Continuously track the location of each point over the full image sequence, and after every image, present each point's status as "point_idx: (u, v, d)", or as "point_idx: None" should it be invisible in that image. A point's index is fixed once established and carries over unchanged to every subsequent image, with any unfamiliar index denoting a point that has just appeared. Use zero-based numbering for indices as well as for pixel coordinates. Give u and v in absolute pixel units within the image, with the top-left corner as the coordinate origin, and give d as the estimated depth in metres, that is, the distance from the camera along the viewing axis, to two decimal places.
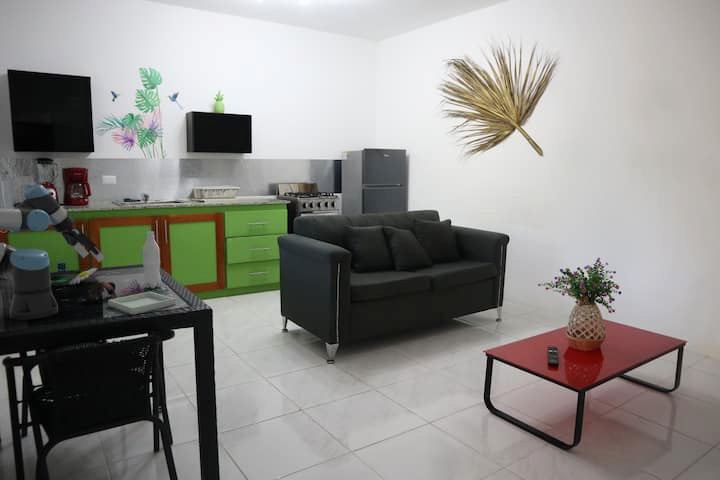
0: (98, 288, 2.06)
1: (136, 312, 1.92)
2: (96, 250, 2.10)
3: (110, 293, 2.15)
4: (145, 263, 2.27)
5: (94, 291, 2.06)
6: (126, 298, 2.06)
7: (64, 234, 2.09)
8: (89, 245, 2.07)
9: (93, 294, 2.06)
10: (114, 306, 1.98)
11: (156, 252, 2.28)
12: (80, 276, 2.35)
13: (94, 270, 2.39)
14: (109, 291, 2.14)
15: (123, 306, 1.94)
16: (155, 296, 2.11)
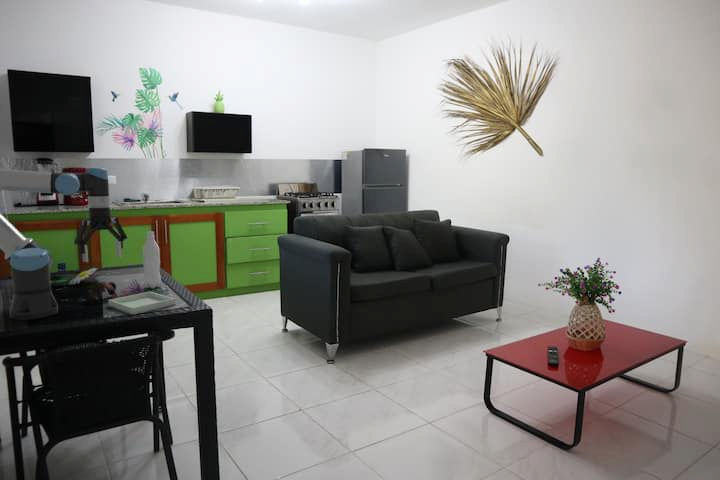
0: (99, 288, 2.06)
1: (136, 312, 1.92)
2: (81, 249, 2.02)
3: (111, 293, 2.14)
4: (145, 263, 2.27)
5: (95, 291, 2.06)
6: (126, 298, 2.06)
7: None
8: (76, 239, 2.01)
9: (94, 294, 2.06)
10: (114, 306, 1.98)
11: (156, 252, 2.28)
12: (80, 276, 2.35)
13: (94, 270, 2.39)
14: (110, 291, 2.14)
15: (123, 306, 1.94)
16: (155, 296, 2.11)
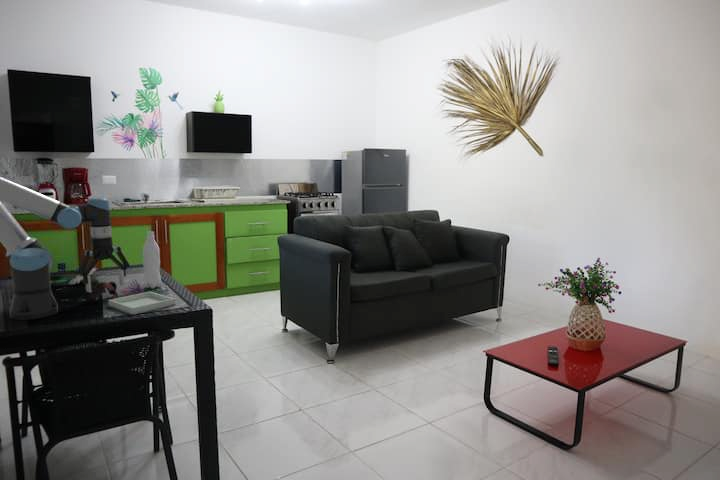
0: (99, 289, 2.06)
1: (136, 312, 1.92)
2: (84, 279, 2.04)
3: (111, 293, 2.14)
4: (145, 263, 2.27)
5: (96, 292, 2.05)
6: (126, 298, 2.06)
7: None
8: (78, 270, 2.03)
9: (95, 295, 2.06)
10: (114, 306, 1.98)
11: (156, 252, 2.28)
12: (80, 276, 2.35)
13: (94, 270, 2.39)
14: (110, 291, 2.14)
15: (123, 306, 1.94)
16: (155, 296, 2.11)
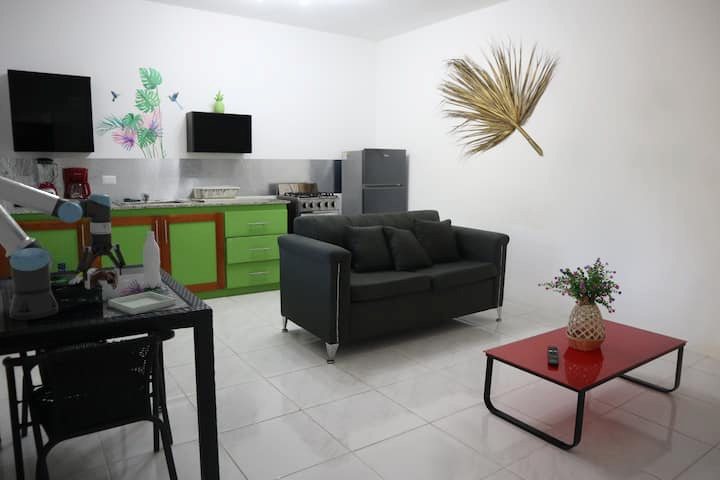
0: (99, 277, 2.06)
1: (136, 312, 1.92)
2: (83, 276, 2.04)
3: (109, 282, 2.14)
4: (145, 263, 2.27)
5: (95, 280, 2.05)
6: (126, 298, 2.06)
7: None
8: (78, 266, 2.03)
9: (94, 283, 2.05)
10: (114, 306, 1.98)
11: (156, 252, 2.28)
12: (80, 276, 2.35)
13: None
14: (108, 280, 2.14)
15: (123, 306, 1.94)
16: (155, 296, 2.11)
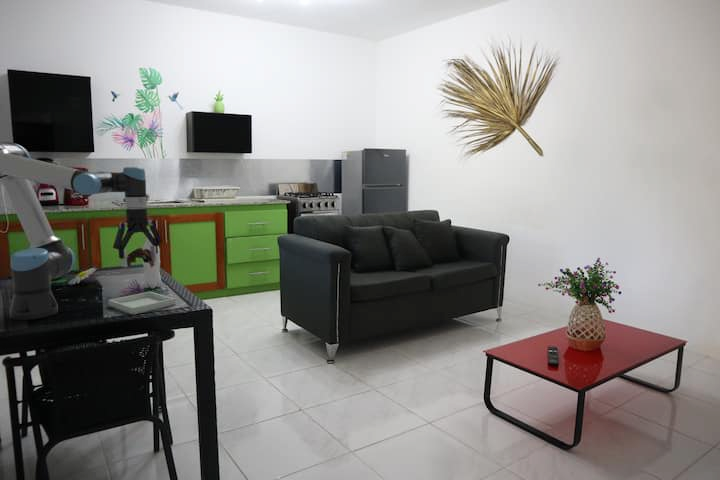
0: (137, 254, 1.95)
1: (136, 312, 1.92)
2: (120, 254, 1.94)
3: (146, 261, 2.03)
4: (145, 263, 2.27)
5: (132, 257, 1.94)
6: (126, 298, 2.06)
7: None
8: (114, 243, 1.93)
9: (131, 260, 1.94)
10: (114, 306, 1.98)
11: None
12: (80, 276, 2.35)
13: None
14: (145, 258, 2.03)
15: (123, 306, 1.94)
16: (155, 296, 2.11)
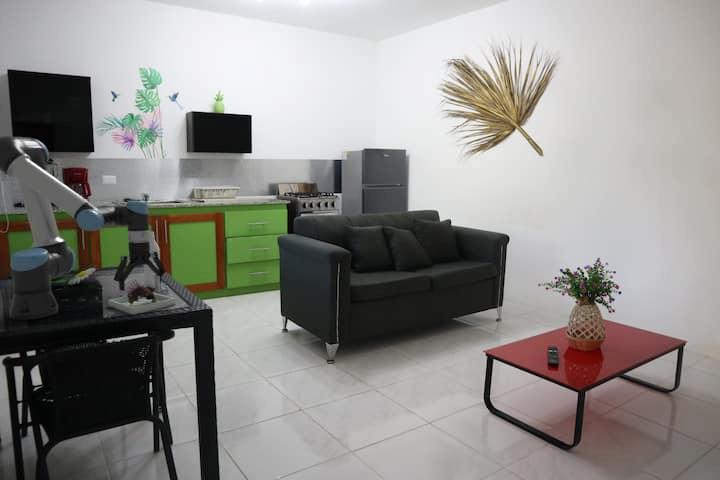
0: (139, 293, 1.97)
1: (136, 312, 1.92)
2: (120, 286, 1.94)
3: (148, 298, 2.05)
4: None
5: (135, 296, 1.96)
6: None
7: None
8: (115, 276, 1.94)
9: (134, 299, 1.96)
10: (114, 306, 1.98)
11: None
12: (79, 276, 2.35)
13: None
14: (147, 296, 2.05)
15: (123, 306, 1.94)
16: (155, 296, 2.11)
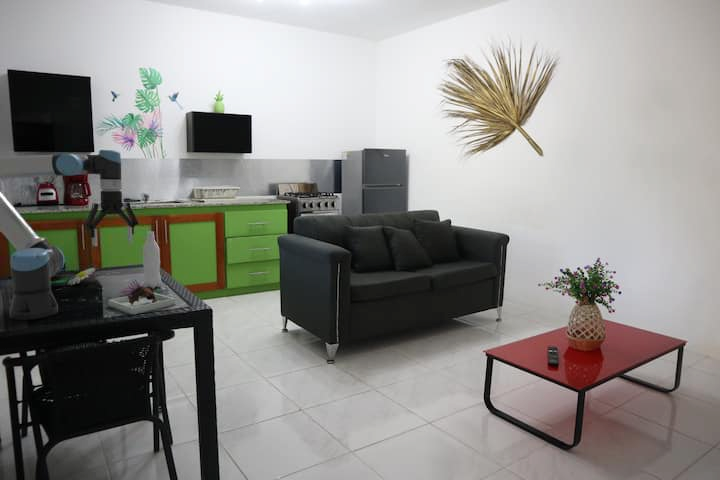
0: (140, 293, 1.97)
1: (136, 312, 1.92)
2: (90, 233, 1.97)
3: (149, 298, 2.05)
4: (145, 263, 2.27)
5: (136, 296, 1.96)
6: (126, 298, 2.06)
7: None
8: (85, 222, 1.97)
9: (135, 299, 1.96)
10: (114, 306, 1.98)
11: (156, 252, 2.28)
12: (79, 276, 2.35)
13: (93, 270, 2.39)
14: (148, 296, 2.05)
15: (123, 306, 1.94)
16: (155, 296, 2.11)
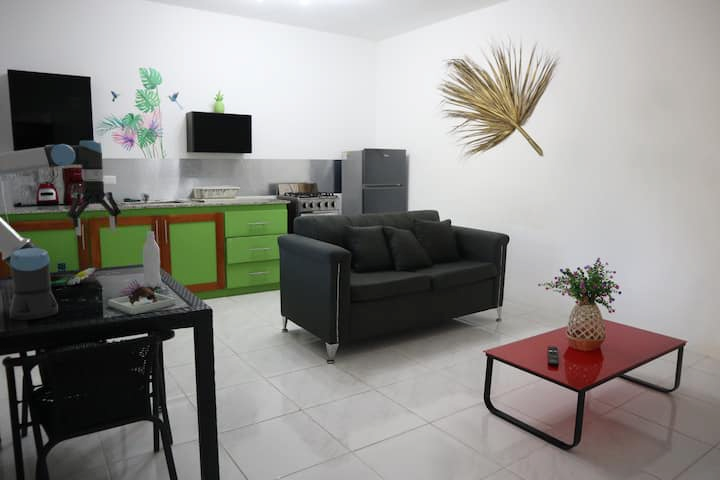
0: (140, 293, 1.97)
1: (136, 312, 1.92)
2: (74, 222, 2.01)
3: (149, 298, 2.05)
4: (145, 263, 2.27)
5: (136, 296, 1.96)
6: (126, 298, 2.06)
7: None
8: (69, 212, 2.00)
9: (135, 299, 1.96)
10: (114, 306, 1.98)
11: (156, 252, 2.28)
12: (79, 276, 2.35)
13: None
14: (148, 296, 2.05)
15: (123, 306, 1.94)
16: (155, 296, 2.11)
